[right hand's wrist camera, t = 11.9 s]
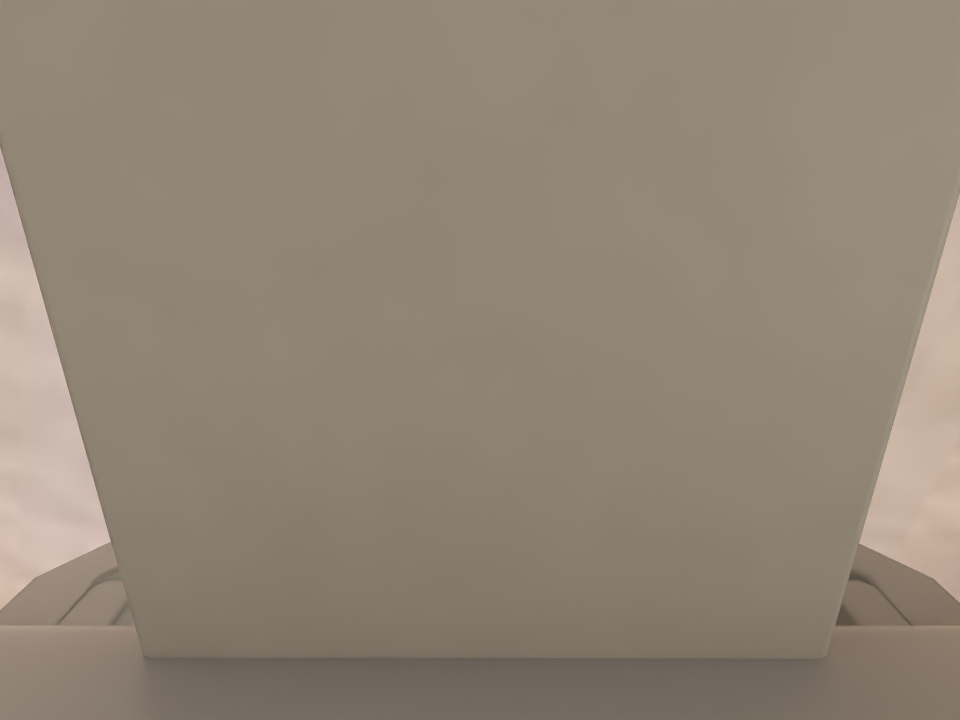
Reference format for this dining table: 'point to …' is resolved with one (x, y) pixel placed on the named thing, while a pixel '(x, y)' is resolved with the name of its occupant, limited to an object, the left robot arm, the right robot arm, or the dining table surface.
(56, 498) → the dining table surface
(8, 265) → the dining table surface
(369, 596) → the box
